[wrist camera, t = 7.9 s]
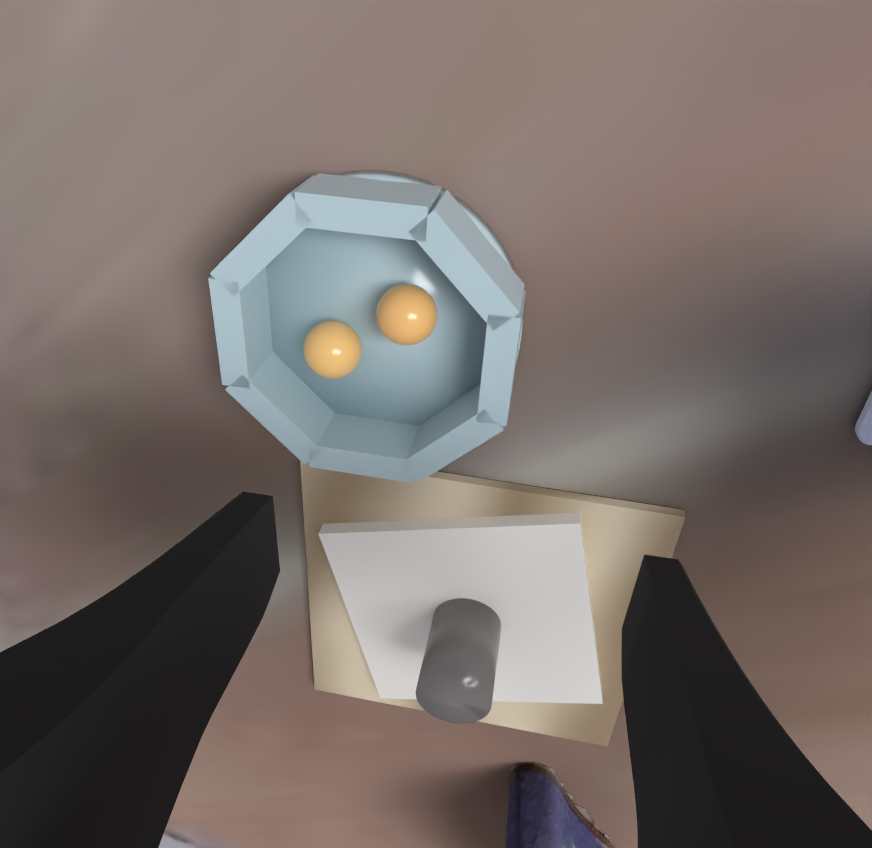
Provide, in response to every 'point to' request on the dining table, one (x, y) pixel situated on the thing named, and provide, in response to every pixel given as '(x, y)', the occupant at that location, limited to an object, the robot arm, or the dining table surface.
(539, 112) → the dining table surface
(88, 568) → the dining table surface
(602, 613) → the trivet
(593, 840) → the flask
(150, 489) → the dining table surface
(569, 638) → the cover
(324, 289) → the bowl
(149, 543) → the dining table surface
